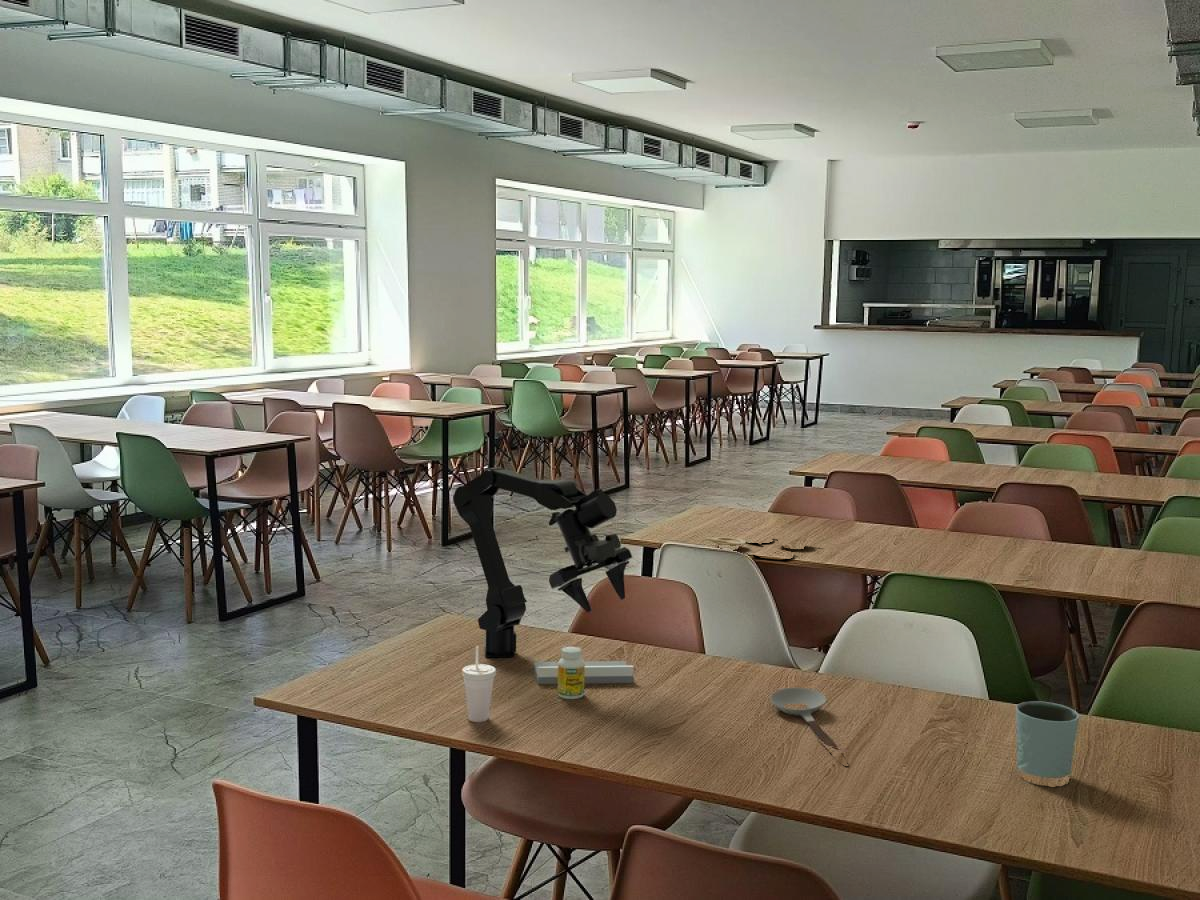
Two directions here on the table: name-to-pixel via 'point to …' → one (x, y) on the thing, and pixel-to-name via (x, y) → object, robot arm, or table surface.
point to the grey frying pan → (806, 698)
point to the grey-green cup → (1045, 738)
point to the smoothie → (478, 689)
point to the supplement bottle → (571, 673)
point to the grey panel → (588, 672)
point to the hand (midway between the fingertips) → (606, 605)
